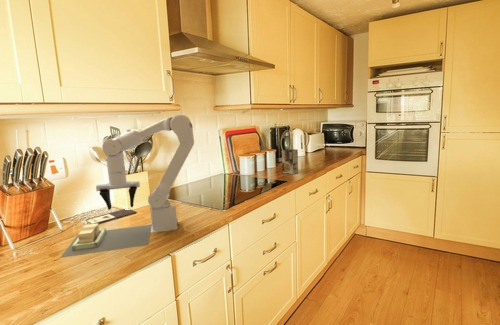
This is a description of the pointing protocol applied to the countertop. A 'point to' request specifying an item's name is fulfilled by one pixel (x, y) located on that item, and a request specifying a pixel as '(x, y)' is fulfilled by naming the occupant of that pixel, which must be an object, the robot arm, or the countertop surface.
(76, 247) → the sage frame
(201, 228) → the countertop surface
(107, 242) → the rubber mat
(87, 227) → the birch block
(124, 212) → the chocolate bar
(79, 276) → the countertop surface
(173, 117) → the robot arm
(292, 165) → the coffee box
